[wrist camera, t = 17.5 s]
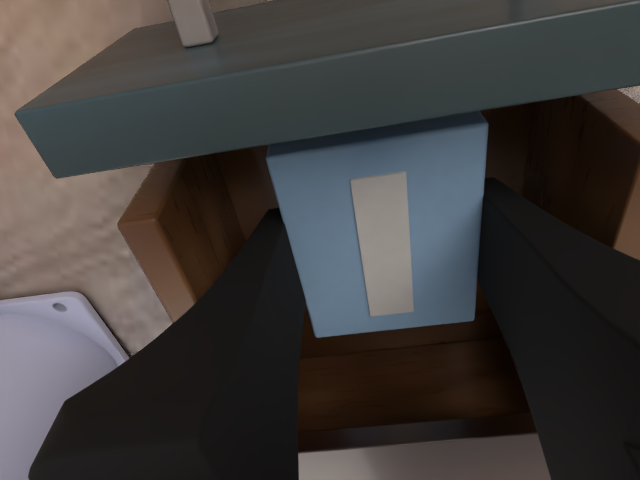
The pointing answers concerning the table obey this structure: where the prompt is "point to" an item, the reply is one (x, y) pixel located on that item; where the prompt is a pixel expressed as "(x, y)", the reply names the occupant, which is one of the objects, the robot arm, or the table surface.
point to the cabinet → (427, 451)
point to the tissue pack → (385, 222)
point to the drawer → (345, 116)
